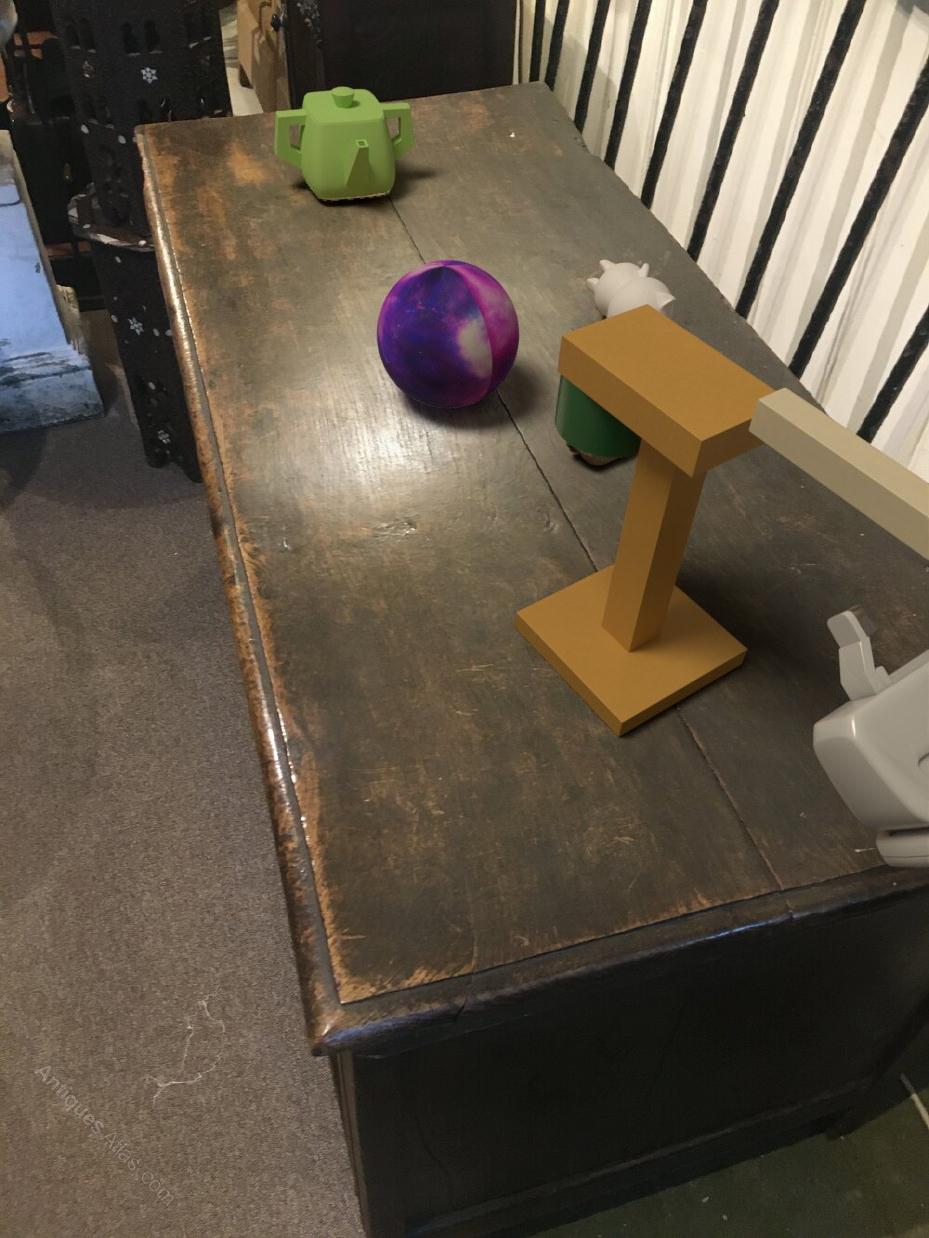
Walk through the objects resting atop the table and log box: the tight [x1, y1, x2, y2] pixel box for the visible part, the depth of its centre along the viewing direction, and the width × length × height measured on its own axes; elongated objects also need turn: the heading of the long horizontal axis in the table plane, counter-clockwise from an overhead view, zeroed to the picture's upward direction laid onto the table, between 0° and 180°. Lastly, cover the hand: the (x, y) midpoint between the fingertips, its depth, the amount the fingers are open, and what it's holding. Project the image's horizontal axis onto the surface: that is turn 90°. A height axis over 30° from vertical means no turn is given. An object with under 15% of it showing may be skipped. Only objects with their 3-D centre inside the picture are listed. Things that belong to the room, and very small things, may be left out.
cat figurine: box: [586, 259, 677, 321], centre depth 116 cm, size 9×11×12 cm
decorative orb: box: [376, 259, 520, 410], centre depth 102 cm, size 15×15×15 cm
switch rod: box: [749, 387, 929, 561], centre depth 56 cm, size 15×3×3 cm, turn 35°
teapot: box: [273, 86, 416, 202], centre depth 136 cm, size 18×20×13 cm
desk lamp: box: [514, 304, 777, 738], centre depth 75 cm, size 18×14×27 cm
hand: (896, 579), depth 57 cm, fingers open, 8 cm apart
